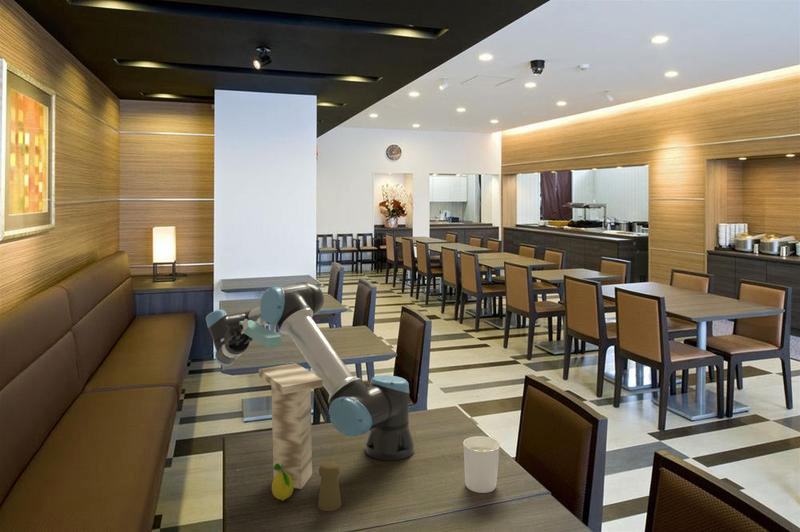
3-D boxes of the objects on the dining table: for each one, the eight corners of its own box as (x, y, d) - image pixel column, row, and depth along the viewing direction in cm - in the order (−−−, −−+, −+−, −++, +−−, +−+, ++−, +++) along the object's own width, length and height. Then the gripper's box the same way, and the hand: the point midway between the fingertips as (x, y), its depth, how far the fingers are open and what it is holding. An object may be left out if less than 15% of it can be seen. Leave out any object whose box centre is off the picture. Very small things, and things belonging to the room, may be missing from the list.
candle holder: (501, 480, 157) (502, 438, 156) (495, 497, 148) (496, 453, 147) (466, 474, 160) (467, 433, 159) (458, 491, 151) (459, 448, 150)
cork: (343, 499, 147) (343, 458, 146) (338, 511, 141) (338, 470, 140) (320, 497, 148) (320, 457, 146) (315, 510, 142) (314, 468, 140)
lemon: (274, 493, 150) (273, 457, 149) (296, 493, 150) (295, 457, 148) (267, 506, 143) (266, 469, 142) (290, 507, 143) (289, 469, 142)
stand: (298, 460, 168) (296, 362, 165) (324, 486, 153) (323, 379, 150) (261, 470, 162) (258, 369, 159) (284, 498, 147) (282, 387, 144)
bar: (239, 330, 183) (239, 321, 183) (251, 328, 185) (251, 320, 185) (267, 348, 162) (267, 338, 161) (281, 346, 164) (281, 336, 163)
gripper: (261, 351, 198) (282, 330, 180) (212, 358, 189) (229, 337, 171) (257, 331, 201) (277, 307, 182) (208, 337, 191) (224, 313, 173)
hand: (254, 322), depth 177 cm, fingers closed on bar, 4 cm apart
